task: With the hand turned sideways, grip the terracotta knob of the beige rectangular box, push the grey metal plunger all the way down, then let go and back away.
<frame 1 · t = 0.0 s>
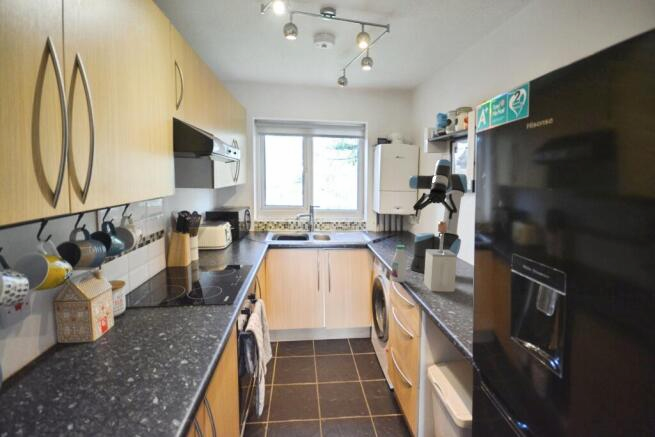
hand: (431, 223, 151), 36 cm above the countertop, tool tilted 35°, fingers open, 13 cm apart
beige rectangular box: (438, 287, 170), on the countertop
milk bottle: (398, 281, 180), on the countertop
plunger: (441, 246, 167), point 22 cm above the countertop, slide at 8.0 cm
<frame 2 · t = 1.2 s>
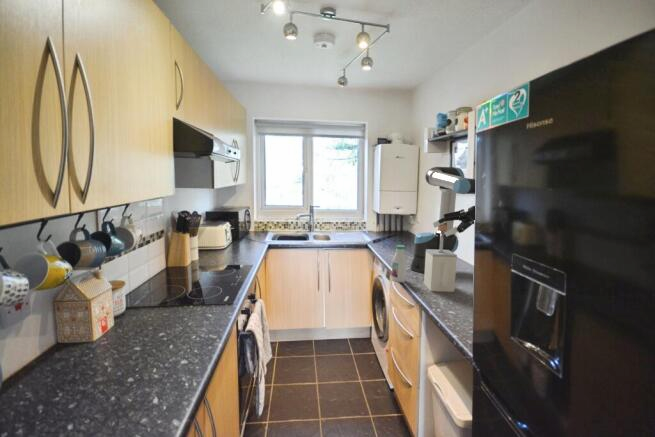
hand: (439, 230, 170), 30 cm above the countertop, tool tilted 60°, fingers open, 13 cm apart
plunger: (441, 246, 167), point 22 cm above the countertop, slide at 8.3 cm, touching gripper
everything else where it was.
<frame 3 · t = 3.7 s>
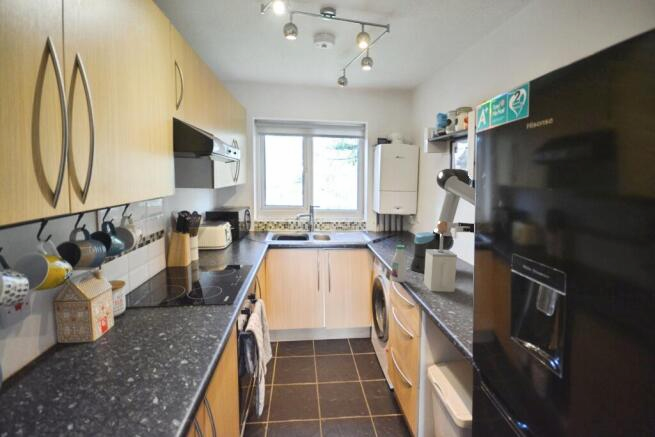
hand: (450, 227, 165), 33 cm above the countertop, tool horizontal, fingers open, 13 cm apart
plunger: (441, 246, 167), point 22 cm above the countertop, slide at 8.1 cm
everything else where it was.
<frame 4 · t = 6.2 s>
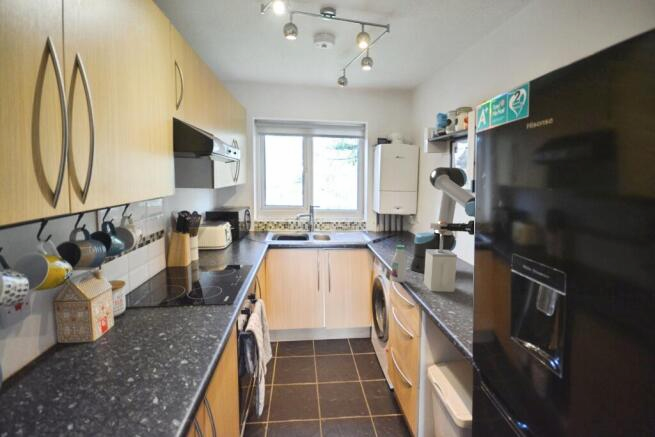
hand: (432, 226, 166), 32 cm above the countertop, tool horizontal, fingers closed on plunger, 4 cm apart
plunger: (441, 246, 167), point 22 cm above the countertop, slide at 8.0 cm, touching gripper
everything else where it was.
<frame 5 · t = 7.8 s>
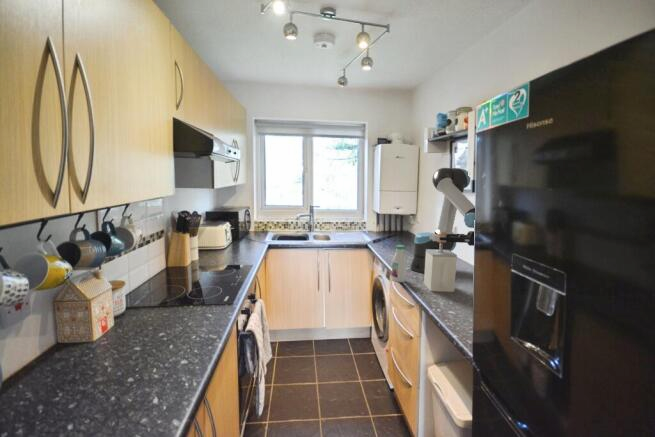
hand: (431, 237, 166), 27 cm above the countertop, tool horizontal, fingers closed on plunger, 4 cm apart
plunger: (440, 257, 168), point 16 cm above the countertop, slide at 2.4 cm, touching gripper
everything else where it was.
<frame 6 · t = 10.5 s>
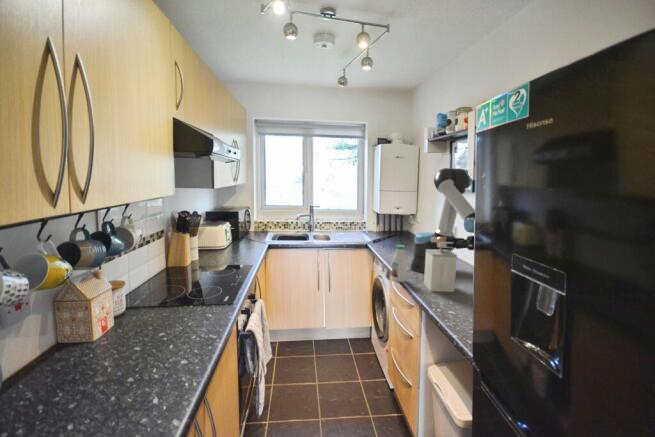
hand: (435, 242, 167), 24 cm above the countertop, tool horizontal, fingers open, 13 cm apart
plunger: (440, 261, 168), point 14 cm above the countertop, slide at -0.1 cm
everything else where it was.
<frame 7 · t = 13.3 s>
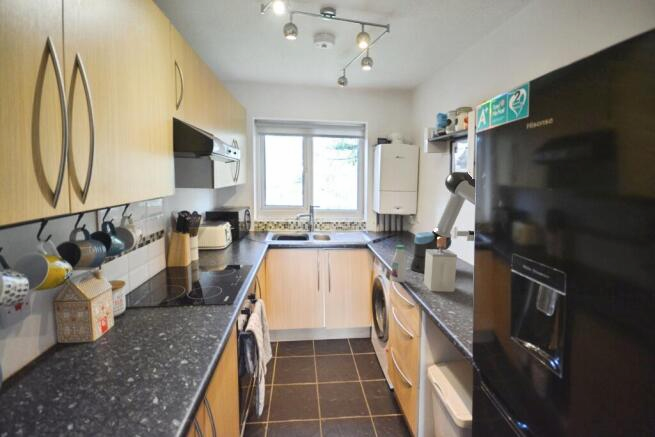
hand: (461, 235, 166), 28 cm above the countertop, tool horizontal, fingers open, 13 cm apart
nothing on the countertop moved.
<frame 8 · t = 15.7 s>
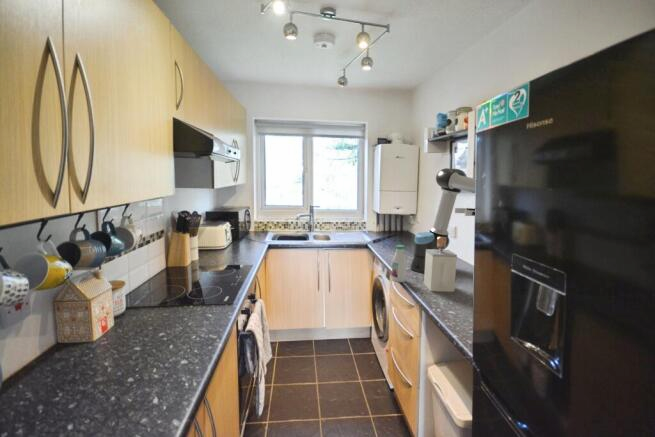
hand: (459, 211, 171), 40 cm above the countertop, tool horizontal, fingers open, 13 cm apart
nothing on the countertop moved.
at the end: plunger slide at -0.1 cm; the gripper is holding nothing; milk bottle moved 0.2 cm from its start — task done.
